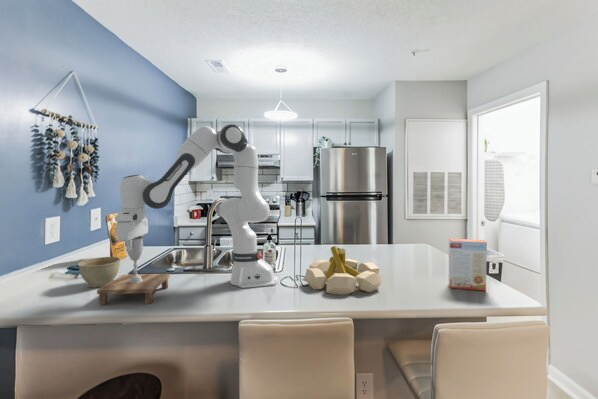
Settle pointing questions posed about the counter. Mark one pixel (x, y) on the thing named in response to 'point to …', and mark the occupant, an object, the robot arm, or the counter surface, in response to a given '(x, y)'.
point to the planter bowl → (99, 270)
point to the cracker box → (467, 264)
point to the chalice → (136, 257)
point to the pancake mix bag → (114, 238)
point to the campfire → (342, 274)
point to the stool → (133, 286)
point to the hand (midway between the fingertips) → (134, 248)
